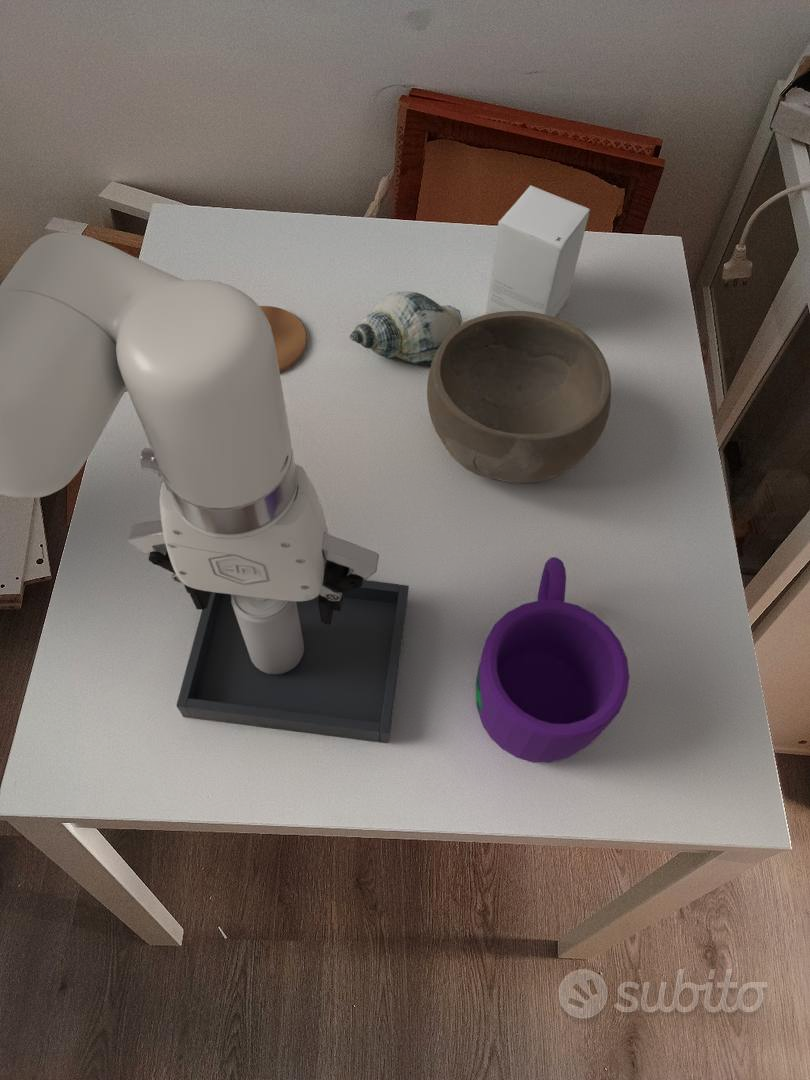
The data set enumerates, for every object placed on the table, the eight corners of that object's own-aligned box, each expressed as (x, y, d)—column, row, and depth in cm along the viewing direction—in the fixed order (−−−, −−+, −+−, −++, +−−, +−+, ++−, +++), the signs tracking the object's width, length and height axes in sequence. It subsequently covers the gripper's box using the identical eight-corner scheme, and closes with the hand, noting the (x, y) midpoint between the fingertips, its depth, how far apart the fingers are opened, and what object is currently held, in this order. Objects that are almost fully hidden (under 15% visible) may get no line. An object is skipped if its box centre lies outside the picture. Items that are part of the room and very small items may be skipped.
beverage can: (255, 682, 71) (235, 625, 61) (245, 633, 74) (224, 569, 63) (309, 669, 72) (299, 610, 62) (298, 620, 74) (286, 556, 64)
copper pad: (206, 371, 89) (205, 367, 89) (227, 305, 94) (226, 301, 94) (297, 381, 89) (297, 377, 88) (314, 314, 94) (313, 310, 93)
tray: (183, 717, 70) (175, 705, 68) (220, 576, 77) (214, 561, 74) (388, 743, 70) (389, 733, 67) (407, 599, 76) (408, 585, 74)
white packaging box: (569, 300, 96) (593, 208, 85) (539, 339, 93) (561, 249, 82) (513, 275, 98) (530, 182, 87) (482, 313, 95) (497, 221, 84)
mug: (598, 782, 68) (631, 748, 60) (462, 762, 69) (475, 725, 60) (602, 596, 77) (631, 543, 69) (481, 579, 78) (495, 524, 69)
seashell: (458, 373, 92) (350, 366, 92) (462, 309, 93) (355, 301, 93) (463, 355, 86) (348, 347, 86) (467, 286, 87) (353, 278, 86)
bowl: (452, 354, 92) (460, 285, 83) (609, 399, 89) (634, 332, 80) (400, 475, 83) (403, 412, 75) (571, 528, 81) (595, 469, 72)
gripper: (69, 509, 48) (144, 631, 62) (367, 543, 47) (372, 658, 62) (108, 408, 51) (170, 545, 66) (384, 438, 51) (385, 570, 65)
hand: (267, 599), depth 64 cm, fingers open, 9 cm apart
